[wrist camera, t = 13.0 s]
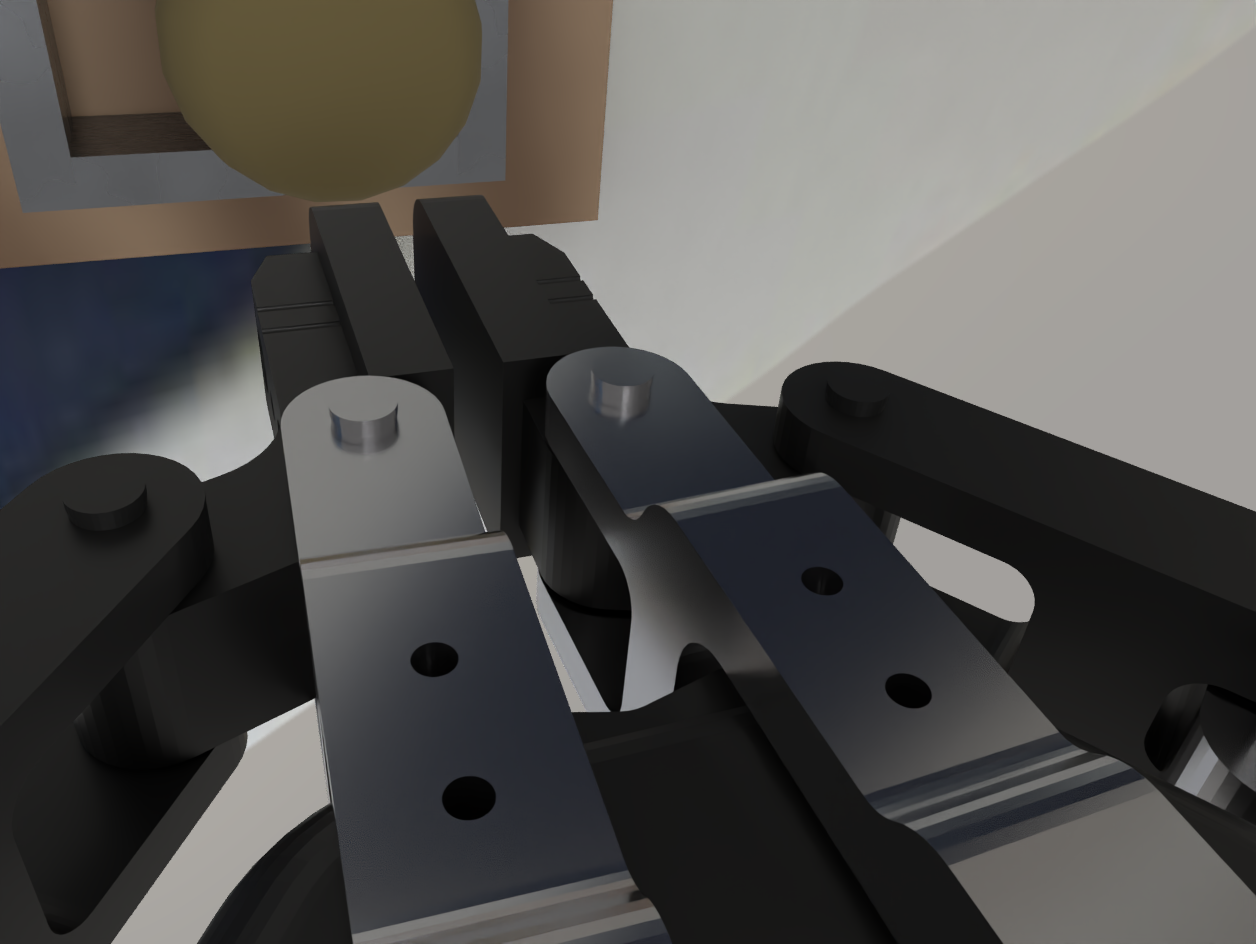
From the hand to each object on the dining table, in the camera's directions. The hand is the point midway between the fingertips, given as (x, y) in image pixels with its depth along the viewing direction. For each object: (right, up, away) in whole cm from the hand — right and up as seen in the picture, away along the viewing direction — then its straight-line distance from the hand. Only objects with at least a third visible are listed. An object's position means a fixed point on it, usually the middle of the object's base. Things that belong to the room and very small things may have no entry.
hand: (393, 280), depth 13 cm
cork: (-6, +10, +13) cm, 18 cm away
